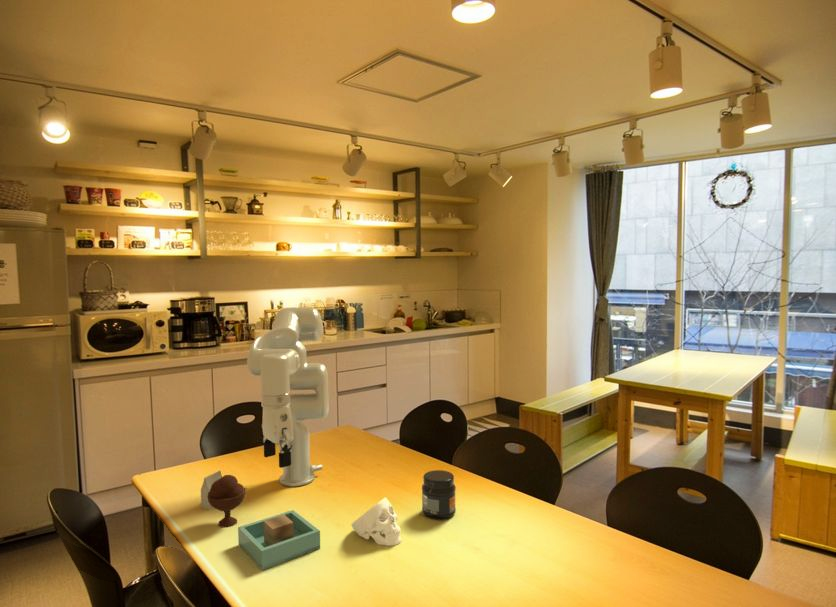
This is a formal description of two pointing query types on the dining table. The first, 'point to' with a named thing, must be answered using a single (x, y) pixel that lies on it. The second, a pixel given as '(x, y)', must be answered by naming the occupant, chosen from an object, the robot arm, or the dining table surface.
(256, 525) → the stoneware box
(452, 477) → the supplement container
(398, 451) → the dining table surface
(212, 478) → the tea bag
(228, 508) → the ice cream bowl
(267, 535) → the walnut cube
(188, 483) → the dining table surface
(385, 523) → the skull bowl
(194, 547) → the dining table surface
